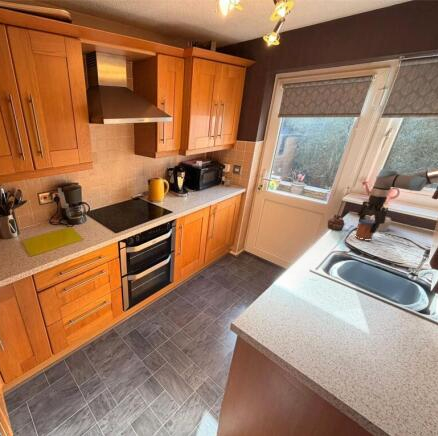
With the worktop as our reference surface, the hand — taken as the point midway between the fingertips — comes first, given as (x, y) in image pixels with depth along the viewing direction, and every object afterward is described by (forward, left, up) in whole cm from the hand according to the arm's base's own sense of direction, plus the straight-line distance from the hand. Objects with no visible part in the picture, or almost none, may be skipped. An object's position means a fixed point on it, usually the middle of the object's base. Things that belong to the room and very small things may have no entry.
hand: (365, 229), depth 147 cm
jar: (0, 0, -6) cm, 6 cm away
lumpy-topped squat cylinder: (+15, -25, -6) cm, 30 cm away
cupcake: (+16, +6, -6) cm, 18 cm away
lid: (0, 0, +6) cm, 6 cm away
